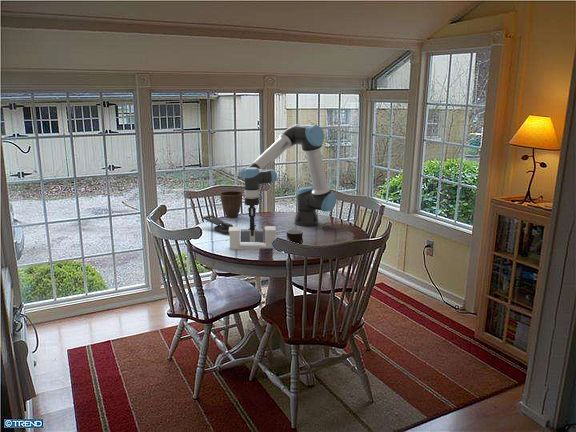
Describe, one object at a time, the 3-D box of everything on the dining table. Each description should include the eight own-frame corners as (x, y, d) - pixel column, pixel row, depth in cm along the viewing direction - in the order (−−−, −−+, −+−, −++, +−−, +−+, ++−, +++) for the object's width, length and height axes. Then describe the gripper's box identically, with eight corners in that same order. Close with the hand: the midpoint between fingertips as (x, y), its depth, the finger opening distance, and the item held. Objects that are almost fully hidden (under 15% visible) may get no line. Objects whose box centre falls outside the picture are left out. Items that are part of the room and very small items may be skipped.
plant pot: (220, 219, 320) (220, 195, 316) (220, 214, 334) (219, 191, 330) (243, 219, 322) (243, 195, 318) (242, 213, 336) (241, 190, 333)
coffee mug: (285, 247, 262) (285, 229, 260) (301, 247, 263) (301, 229, 260) (287, 254, 251) (287, 235, 248) (304, 254, 252) (304, 235, 249)
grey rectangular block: (263, 240, 266) (263, 229, 264) (263, 242, 262) (263, 231, 260) (240, 239, 265) (240, 229, 264) (240, 242, 261) (240, 231, 260)
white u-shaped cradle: (275, 243, 269) (275, 226, 266) (276, 248, 261) (275, 230, 259) (229, 244, 267) (229, 226, 265) (229, 249, 259) (228, 230, 257)
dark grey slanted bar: (212, 214, 307) (238, 221, 289) (213, 224, 308) (238, 232, 291) (200, 217, 301) (226, 224, 283) (201, 227, 302) (226, 235, 285)
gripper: (244, 194, 266) (245, 235, 271) (244, 200, 249) (245, 244, 255) (258, 194, 266) (259, 235, 272) (259, 200, 250) (259, 244, 255)
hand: (252, 239), depth 263 cm, fingers closed on grey rectangular block, 4 cm apart
